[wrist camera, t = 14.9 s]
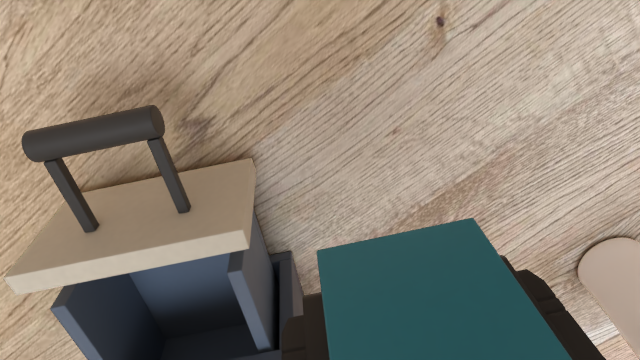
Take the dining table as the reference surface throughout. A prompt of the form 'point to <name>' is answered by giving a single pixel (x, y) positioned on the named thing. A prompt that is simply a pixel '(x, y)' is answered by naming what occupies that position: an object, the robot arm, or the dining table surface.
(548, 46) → the dining table surface
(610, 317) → the drinking glass
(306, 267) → the dining table surface
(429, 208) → the dining table surface
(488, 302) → the teal block
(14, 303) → the dining table surface
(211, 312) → the drawer
